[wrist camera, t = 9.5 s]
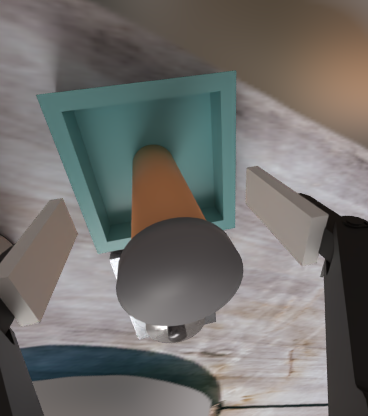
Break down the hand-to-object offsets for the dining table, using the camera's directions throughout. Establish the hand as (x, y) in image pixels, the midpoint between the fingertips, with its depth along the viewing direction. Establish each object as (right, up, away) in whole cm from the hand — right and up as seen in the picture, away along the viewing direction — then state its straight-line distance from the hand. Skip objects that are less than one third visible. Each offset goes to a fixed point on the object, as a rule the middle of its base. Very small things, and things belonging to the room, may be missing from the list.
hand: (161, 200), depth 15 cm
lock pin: (-1, +4, +7) cm, 8 cm away
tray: (-1, +4, +8) cm, 9 cm away
